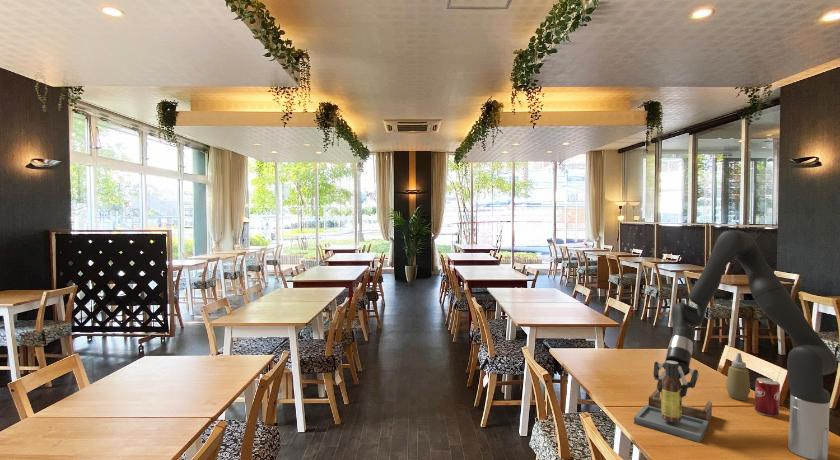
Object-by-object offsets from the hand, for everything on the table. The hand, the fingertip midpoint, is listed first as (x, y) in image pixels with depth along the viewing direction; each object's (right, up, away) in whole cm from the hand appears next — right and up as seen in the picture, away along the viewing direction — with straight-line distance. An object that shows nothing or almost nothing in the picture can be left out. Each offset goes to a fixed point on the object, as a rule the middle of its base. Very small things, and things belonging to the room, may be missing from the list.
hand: (670, 393), depth 157 cm
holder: (+10, -11, +12) cm, 19 cm away
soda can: (+43, -12, +13) cm, 46 cm away
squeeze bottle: (+42, -12, +27) cm, 51 cm away
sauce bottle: (+1, -9, +1) cm, 10 cm away
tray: (+1, -12, +2) cm, 12 cm away
